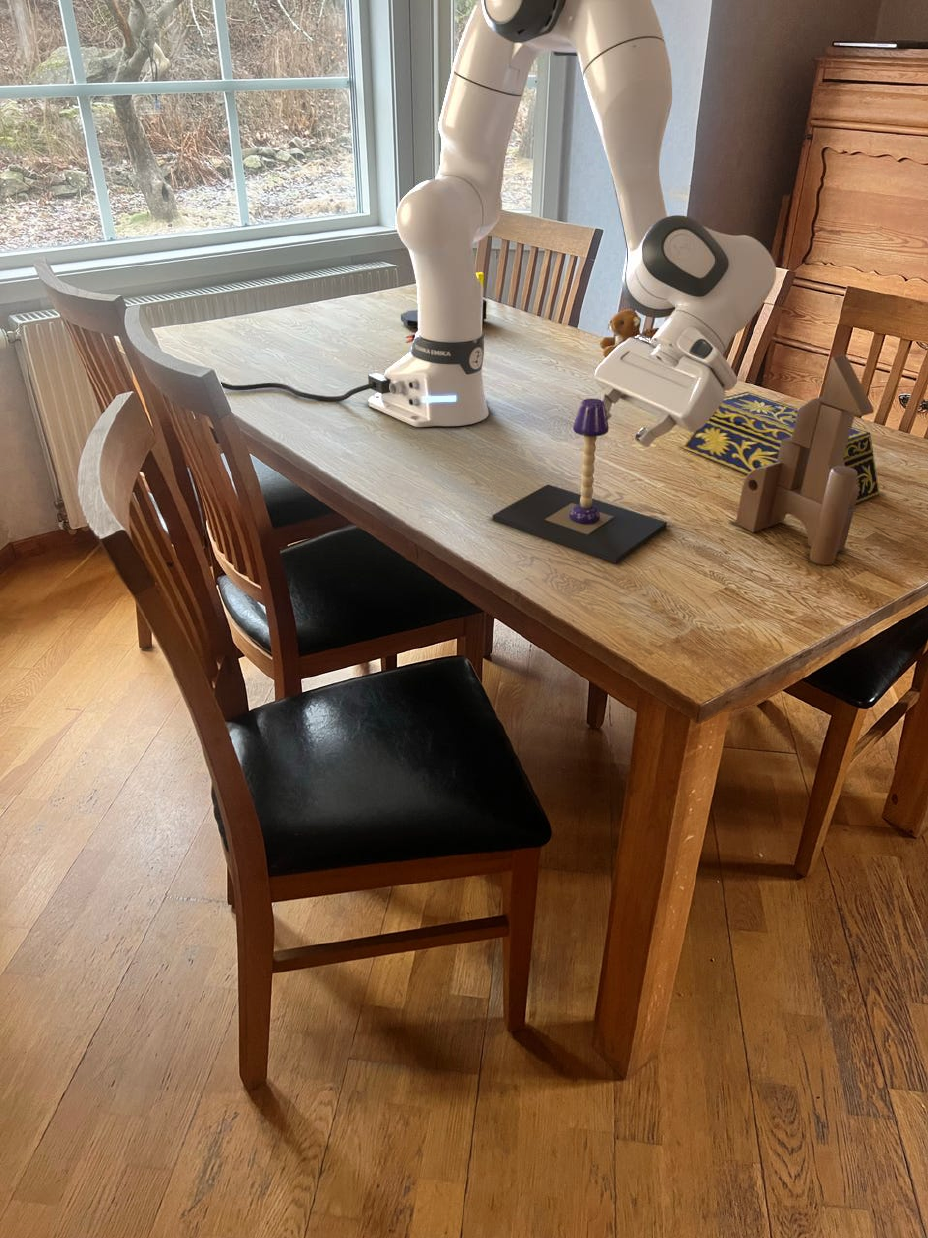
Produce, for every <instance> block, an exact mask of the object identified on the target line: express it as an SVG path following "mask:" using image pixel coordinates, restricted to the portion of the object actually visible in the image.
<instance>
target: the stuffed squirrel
mask: <svg viewBox="0 0 928 1238" xmlns="http://www.w3.org/2000/svg"><path fill="white" fill-rule="evenodd" d="M641 323H642V317H640V316H639V315H638V312H637V311H636V310H634V309H633V308H632V307H630V308H626V309H623V310H620V311H619V312H617V313H615V314H614V315H613V316H612V317H611V318H610V320H609V323H608V324H607V328H606V330H607V331H608V330H610V331H611V333H612V334H614V335H615V336H604V337H603V338H602V339H600V341H599V347H600V348H601V349H602V350H603V351H602V354H603V357H604V358H605V359H606V358H607V357H608V356H609V355H610V354H611V353H612V352H613V351H614V350H615V349H616V348H617V347H618V346H619V345H620V344H621V343H623V342H624V341H626V340H627V339H628V338H630V337H631V338H632V337H634V336H638V335H639V334H644V335H646V336H647V337H650V338H652V337H653V336H654V335H655V334H656V332H657V331H658V330H659V329H660V327H649V328H647V329H646V330H645V331H644V330H643V331H642V332H641V331H640V328H641ZM636 340H637V339H636ZM605 359H602V360H601V361H599V362H598V366H599V365H600V364H601V363H602V362H603V361H604V360H605Z"/></svg>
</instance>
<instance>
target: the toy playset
mask: <svg viewBox="0 0 928 1238" xmlns="http://www.w3.org/2000/svg"><path fill="white" fill-rule="evenodd" d="M476 274H477V278H478V280H479V281H480V283H481V285H482V288H483V289H484V279H485V278H484V276H485V273H484V272H482V271H479V272H477V271H476ZM487 303H488V301H487V300H485V299H484V298H483V311H482V325H484V324H485V320H487ZM400 321H401V322H402V323H403V324H404V325H406V326H407V327H410V328H411V327H412V328H417V329H418V309H416V310H415V309H413V310H407V311H405V312H403V313H401V314H400Z"/></svg>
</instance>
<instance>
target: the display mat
mask: <svg viewBox="0 0 928 1238" xmlns="http://www.w3.org/2000/svg"><path fill="white" fill-rule="evenodd" d="M581 496H582V495H581V493H576V492H573V491H570V490H566V489H564V488H560V487H557V486H554V485H551V484H546V485H544V486H542V487H540V488H538V489H537V490H535V491H533V492H531V493H530V494H528V495H526V496H524V497H522V498H521V499H518V500H517V501H515V502H513V503H512V504H509V505H508V506H506V507H504V508H502V509H501V510H499V511H497V512H496V513H494V514H492V518H491V519H492V521H494V522H497V523H500V524H503V525H505V526H508V527H511V528H514V529H517V530H519V531H522V532H524V533H528V534H530V535H533V536H536V537H539V538H542V539H545V540H547V541H550V542H553V543H556V544H559V545H562V546H564V547H566V548H569V549H573V550H575V551H578V552H581V553H584V554H586V555H589V556H592V557H594V558H598V559H600V560H603V561H606V562H608V563H612V564H614V565H617V564H618V563H620V562H621V561H622V560H624V559H626V557H628V556H629V555H630V554H632V553H633V552H635V551H636V550H638V549H639V548H640V547H642V546H643V545H645V544H646V543H647V542H649V541H650V540H651V539H653V538H654V537H655V536H657V535H658V534H659V533H660V532H662V531H664V530H665V529H666V528H667V527H668V522H667V521H663V520H661V519H658V518H655V517H651V516H649V515H645V514H642V513H639V512H636V511H632V510H629V509H627V508H623V507H620V506H618V505H614V504H611V503H608V502H606V501H605V502H604V501H602V500H599V499H595V498H592V504H591V505H593V506H594V507H596V508H597V510H598V511H599V514H600V519H599V521H597V522H595V523H592V524H579V523H576V522H574V521H572V520H571V519H570V518H569V515H570V512H571V510H572V508H573V507H575V506H576V505H578V504H580V498H581Z"/></svg>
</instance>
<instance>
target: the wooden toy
mask: <svg viewBox="0 0 928 1238" xmlns="http://www.w3.org/2000/svg"><path fill="white" fill-rule="evenodd" d="M863 387H864V386H862V383H861V381H860V380H859V378H858V376H857V373H856V372H855V370H854V367H853V366H852V364H851V362H850V360H849V358H848V356H847V355H846V354H845V353H841V354H836V355H833V356H832V357H831V359H830V363H829V366H828V372H827V375H826V380H825V384H824V389H823V393H822V396H819V397H815V398H812V399H810V400H809V401H807V402H806V403H804V404H803V405H802V406H800V407H798V408H797V409H798V412H797V417H796V421H795V426H794V430H793V435H792V437H789V438H785V439H783V440H782V441H781V445H780V450H779V454H778V459H777V463H773V464H769V465H766V466H763V467H760V468H757V469H755V470H752V471H751V472H750V473H749V474H748V475H747V474H746V477H745V478H744V481H743V484H742V487H741V493H740V498H739V504H738V508H737V513H736V518H735V525H737V526H738V527H741V528H744V529H745V530H748V531H750V532H751V533H756V532H759V531H761V530H764V529H767V528H768V527H769V528H770V527H773V526H775V525H776V526H777V525H778V524H782V523H783V522H784V521H785V518H786V516H787V515H790V516H791V515H792V516H794V517H795V518H796V519H798V520H799V521H800V522H801V524H802V525H803V526H804V528H805V531H806V534H807V546H808V547H810V550H809V554H808V555H809V560H810V561H811V562H813V563H815V564H817V565H822V566H829V565H832V564H834V562H835V561H836V556H837V553H839V552H842V551H844V550H845V547H846V543H847V540H848V535H849V531H850V528H851V525H852V520H853V517H854V514H855V511H856V510H855V509H856V508H855V506H856V505H855V504H856V500H857V497H858V493H859V489H860V487H859V486H858V485H856V484H855V482H856V479H857V475H858V474H857V471H856V470H855V469H853V468H850V467H847V466H845V464H844V459H843V458H844V454H845V450H846V447H847V443H848V439H849V435H850V431H851V427H853V423H854V419H855V415H856V416H860V417H864V416H867V415H871V414H873V413H875V409H874V407H873V405H872V403H871V401H870V400H869V398H868V395H867V393H866V392H865V389H864V388H863Z"/></svg>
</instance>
